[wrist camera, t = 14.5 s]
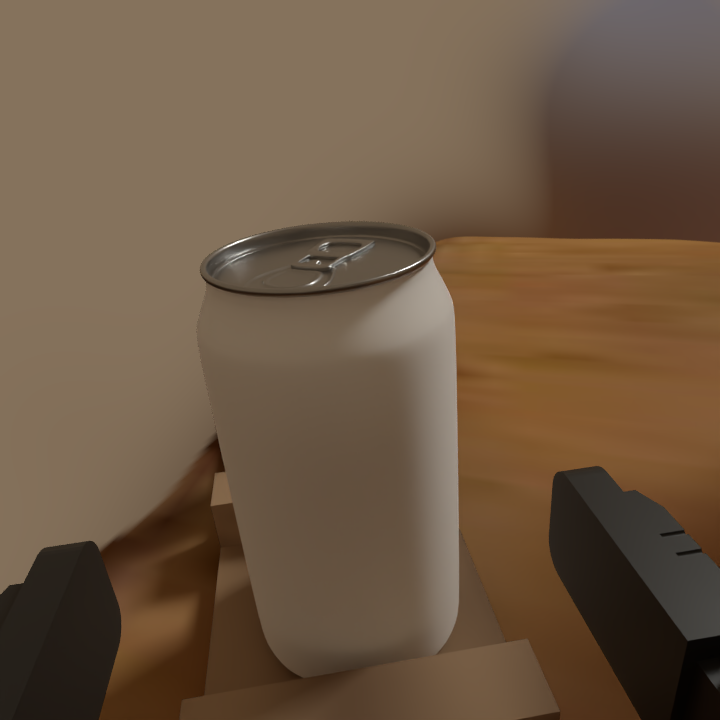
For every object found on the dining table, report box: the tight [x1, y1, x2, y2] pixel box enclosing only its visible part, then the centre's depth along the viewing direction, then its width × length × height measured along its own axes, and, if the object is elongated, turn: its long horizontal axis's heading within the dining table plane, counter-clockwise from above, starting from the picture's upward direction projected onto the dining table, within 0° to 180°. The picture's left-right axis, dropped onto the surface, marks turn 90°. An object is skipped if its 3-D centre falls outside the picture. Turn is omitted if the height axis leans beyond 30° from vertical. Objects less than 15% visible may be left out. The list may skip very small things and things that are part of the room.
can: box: [197, 221, 459, 678], centre depth 17 cm, size 6×6×12 cm
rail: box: [179, 472, 560, 720], centre depth 24 cm, size 9×21×3 cm, turn 7°
